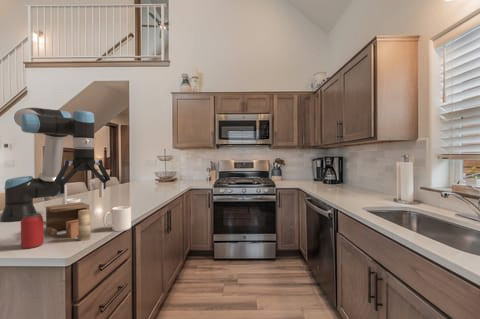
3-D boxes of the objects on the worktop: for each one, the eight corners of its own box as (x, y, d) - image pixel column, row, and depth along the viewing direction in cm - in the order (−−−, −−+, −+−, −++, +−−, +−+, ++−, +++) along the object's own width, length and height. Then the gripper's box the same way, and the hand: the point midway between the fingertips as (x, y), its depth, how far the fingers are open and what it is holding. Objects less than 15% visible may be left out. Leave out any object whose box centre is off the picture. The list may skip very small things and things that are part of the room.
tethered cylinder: (66, 235, 107) (66, 208, 107) (81, 232, 112) (81, 205, 111) (78, 242, 98) (78, 212, 98) (94, 238, 103) (94, 210, 103)
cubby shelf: (46, 231, 112) (45, 206, 112) (80, 225, 123) (80, 202, 123) (53, 236, 105) (53, 209, 105) (89, 229, 116) (89, 204, 116)
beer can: (29, 243, 97) (29, 213, 97) (47, 242, 98) (47, 212, 97) (16, 249, 90) (15, 217, 90) (35, 248, 91) (34, 216, 91)
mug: (67, 226, 121) (67, 202, 121) (51, 225, 122) (51, 202, 122) (84, 220, 133) (84, 198, 133) (70, 219, 134) (70, 198, 134)
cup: (133, 229, 116) (133, 208, 116) (104, 234, 108) (104, 211, 108) (128, 225, 122) (128, 205, 122) (101, 229, 115) (101, 208, 115)
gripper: (49, 147, 89) (50, 205, 90) (118, 149, 109) (118, 196, 109) (43, 147, 94) (44, 202, 94) (110, 149, 114) (110, 194, 114)
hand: (84, 199), depth 102 cm, fingers open, 13 cm apart
